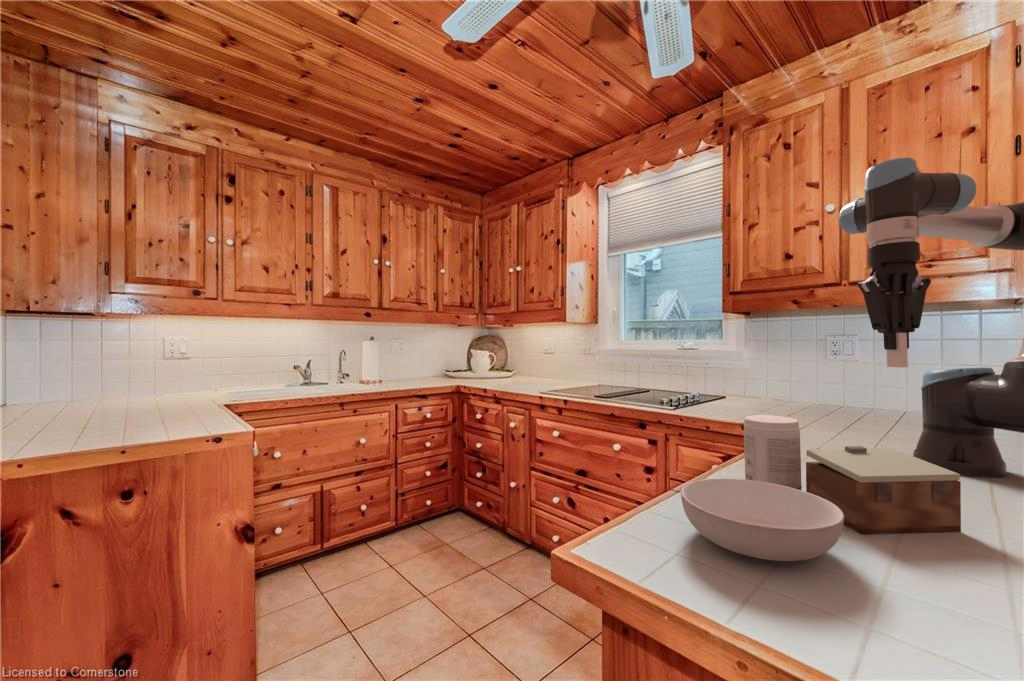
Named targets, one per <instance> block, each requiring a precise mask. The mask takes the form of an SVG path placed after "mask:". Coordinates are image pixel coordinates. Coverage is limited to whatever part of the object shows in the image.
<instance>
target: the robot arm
mask: <svg viewBox="0 0 1024 681" xmlns="http://www.w3.org/2000/svg"><path fill="white" fill-rule="evenodd" d="M917 166H918V165H917V162H916V160H915V159H914V158H913V157H897V158H893V159H888V160H885V161H881V162H879V163H877V164H874V165H872V166H871V167H869V168H868V169H867V171H866V173H865V179H864V190H863V191H864V196H865V197H860V198H857V199H856V200H854V201H852V202H848V203H847V204H845V205H844V206H843V207H842V208H841V210H840V212H839V214H838V215H839V216H838V222H839V226H840V228H841V230H843V231H844V232H845V233H847V234H849V235H858V234H863V233H864V234H865V233H866V242H867V245H868V246H870V247H868V249H867V264H868V266H869V267H870V268H871V270H870V272H869V277H868V278H867V279H866V280H864V281H863V280H862V281H860V282H858V283H857V287H858V288H859V290H860V292H861V293H862V294H863V295H862V296H863V298H864V299H863V300H864V302H865V305H866V310H867V313H868V317H869V320H870V323H871V328H872V330H873V331H877V332H878V333H879V334H883V348H884V350H886V366H887V368H890V367H891V368H909V367H908V366H909V364H908V362H909V361H908V350H909V348H910V333H914V332H915V331H916V329H919V328H920V327H921V321H922V316H923V311H924V305H925V300H926V295H927V290H928V289H929V287H930V285H931V283H932V279H930V278H929V277H927V278H926V277H925V278H923V277H922V276H920V275H919V270H918V269H917V265H916V263H917V262H919V261H920V259H921V248H920V246H921V245H920V242H918V241H916V240H917V239H918V238H919V237H920V236H921V237H929V238H936V239H937V238H938V239H939V238H940V239H946V240H947V239H949V240H957V241H964V242H965V241H966V242H967V243H968V244H969V245H971V246H973V247H978V248H987V249H999V250H1009V251H1024V201H1023V202H1019V203H1014V204H1006V205H1005V204H1004V205H1003V204H992V205H991V204H990V205H986V206H983V207H979V206H978V207H977V206H973V205H972V206H970V205H971V203H972V202H973V200H974V198H975V197H976V193H977V184H976V182H975V180H974V179H973V178H972V177H971V176H969V175H967V174H964V173H955V172H953V171H952V172H950V171H949V172H919V171H918V170H919V168H918V167H917ZM920 387H921V401H922V402H921V406H922V407H921V408H922V410H921V411H922V432H921V434H920V437H919V438H918V442H917V443H916V448H915V449H914V450H913V452H912V456H913V457H916V458H919V459H921V460H924V461H927V462H929V463H932V464H934V465H937V466H940V467H942V468H945V469H948V470H950V471H953V472H956V473H958V474H960V475H965V476H971V477H972V476H973V477H989V478H995V477H997V478H998V477H1004V476H1006V475H1007V463H1006V461H1005V460H1003V457H1002V456H1003V455H1002V453H1001V451H1000V449H999V446H998V444H997V441H996V438H995V429H996V430H1003V431H1009V432H1015V433H1020V434H1021V433H1022V434H1024V339H1023V340H1022V343H1021V346H1020V350H1019V354H1018V356H1017V357H1016V358H1014V359H1010V360H1008V361H1006V362H1005V363H1004V365H1003V368H1002V370H1001V373H1000V374H996V372H995V371H994V369H993V368H992V367H965V368H961V367H960V368H945V369H943V368H942V369H932V370H931V369H930V370H928V371H926V372H925V373H924V374H923V375H922V386H920Z"/></svg>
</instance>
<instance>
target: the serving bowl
mask: <svg viewBox="0 0 1024 681" xmlns="http://www.w3.org/2000/svg"><path fill="white" fill-rule="evenodd" d="M680 498H681V502H682V506H683V510H684V513H685V515H686V517H687V520H689V522H690V524H691V525H692V526H693V528H695V529H696V531H697V532H698V533H700V534H701V535H702V536H703V537H704V538H706V539H707V540H709V541H711V542H712V543H713V544H716V545H717V546H719V547H721V548H723V549H726V550H728V551H731V552H733V553H737V554H740V555H743V556H747V557H752V558H756V559H760V560H767V561H776V562H796V561H797V562H799V561H805V560H810V559H814V558H817V557H820V556H822V555H823V554H825V553H827V552H828V551H829V550H831V549H832V548H833V547H834V546H835V545H836V544H837V542H838V541H839V539H840V537H841V534H842V532H843V527H844V525H843V523H844V514H843V512H842V511H841V510H840V509H839V508H838V507H837V506H836V505H834V504H833V503H831V502H829V501H828V500H826V499H823V498H821V497H819V496H816V495H814V494H811V493H808V492H806V490H798V489H795V488H791V487H787V486H782V485H778V484H772V483H766V482H760V481H753V480H745V479H742V478H724V477H722V478H720V477H719V478H706V479H705V478H704V479H699V480H694V481H691V482H688V483H687V484H685V485H683V487H682V488H681V490H680Z"/></svg>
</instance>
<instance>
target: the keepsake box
mask: <svg viewBox="0 0 1024 681" xmlns="http://www.w3.org/2000/svg"><path fill="white" fill-rule="evenodd" d="M805 482H806V485H805V487H806V488H805V492H808V493H811V494H814V495H816V496H819V497H821V498H823V499H826V500H828V501H829V502H831V503H833V504H834V505H836V506H837V507H838V508H839V509H840V510H841V511H842V512H843V514H844V523H843V527H844V526H845V527H846V528H849V529H850V530H852V531H854V532H856V533H858V534H860V535H861V536H864V535H865V536H866V535H897V534H898V535H899V534H900V535H903V534H904V535H905V534H930V533H931V534H934V533H936V534H937V533H938V534H939V533H940V534H941V533H961V532H962V527H961V526H962V508H961V507H962V506H961V505H962V503H961V492H962V491H961V483H962V482H961V481H960V480H955V481H912V482H869V483H860V482H858V481H856V480H854V479H852V478H850V477H849V476H847V475H845V474H843V473H841V472H839V471H837V470H835V469H833V468H831V467H829V466H827V465H825V464H823V463H821V462H819V461H805Z"/></svg>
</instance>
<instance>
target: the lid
mask: <svg viewBox="0 0 1024 681" xmlns="http://www.w3.org/2000/svg"><path fill="white" fill-rule="evenodd" d="M805 454H806V456H807V457H809V458H811V459H812V460H815V461H816V462H821V463H823V464H825V465H827V466H829V467H831V468H833V469H835V470H837V471H839V472H841V473H843V474H845V475H847V476H849V477H850V478H852V479H854V480H856V481H858V482H860V483H869V482H912V481H955V480H957V481H960V479H961V474H958V473H956V472H953V471H950V470H948V469H945V468H942V467H940V466H937V465H934V464H932V463H929V462H927V461H924V460H921V459H919V458H916V457H913V455H910V454H907V453H905V452H903V451H900V450H897V449H894V448H890V447H888V448H886V447H885V448H883V447H882V448H867V447H864V446H862V445H859V446H858V445H853V446H851V445H847V446H844V448H840V449H839V448H836V449H832V448H831V449H829V448H827V449H806V453H805Z"/></svg>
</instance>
